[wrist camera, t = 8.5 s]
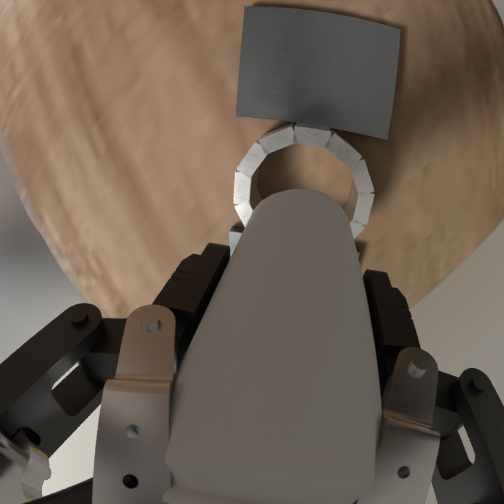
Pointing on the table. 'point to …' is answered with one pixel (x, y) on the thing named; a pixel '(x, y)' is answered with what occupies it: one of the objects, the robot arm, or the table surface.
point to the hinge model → (314, 94)
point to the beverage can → (280, 368)
